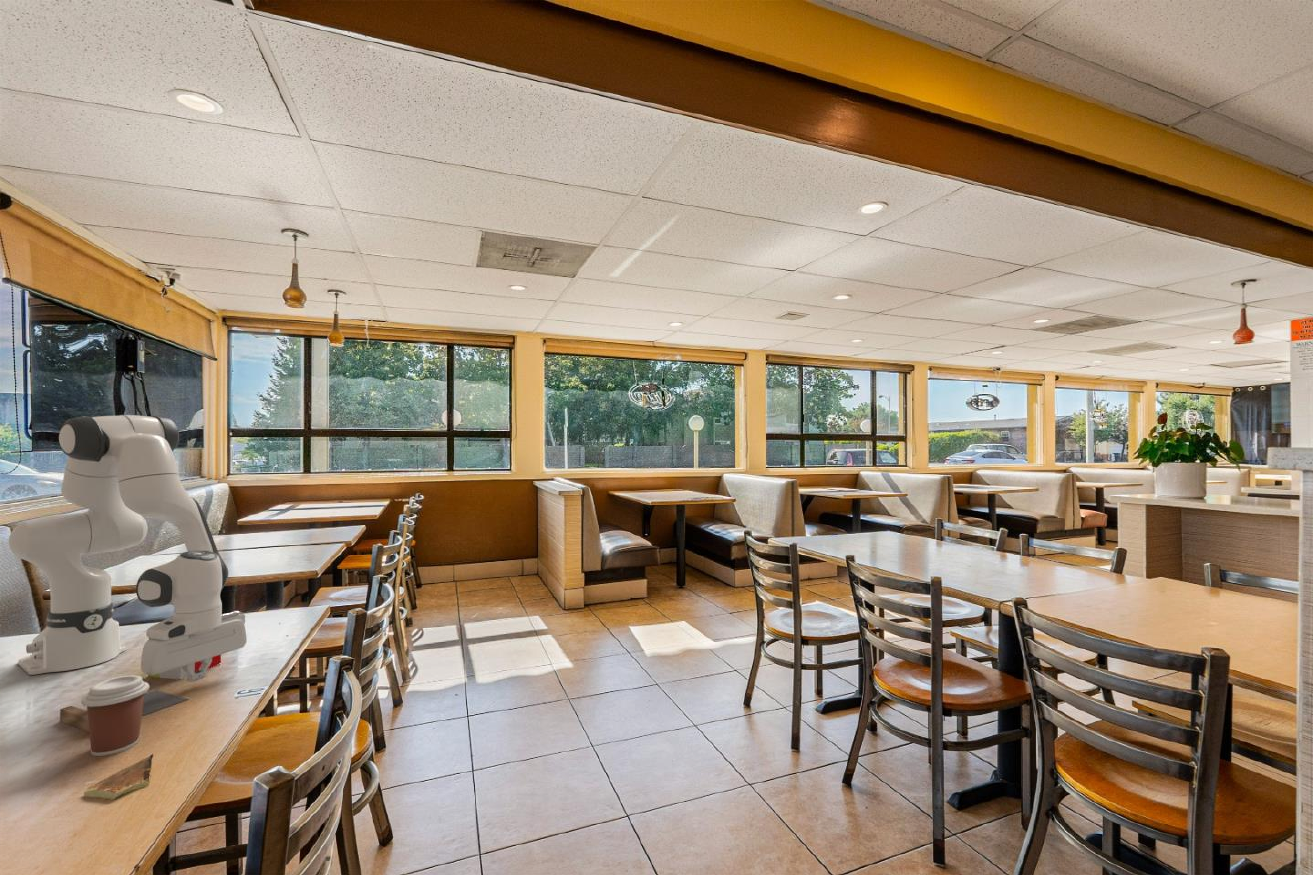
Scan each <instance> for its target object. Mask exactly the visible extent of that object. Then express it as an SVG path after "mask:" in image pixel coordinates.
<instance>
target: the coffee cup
mask: <svg viewBox="0 0 1313 875" xmlns="http://www.w3.org/2000/svg"><path fill="white" fill-rule="evenodd" d="M149 689H150V684H149V683H148V682H146V681H144V680H143V677H142V676H140V675H136V674H135V675H134V674H132V675H130V674H129V675H122V676H115V677H112V678H108V679H105V680H102V681H99V682H98V683H95V684H93V685H92V686H91V687H90V688H89V692H88V693H87V694H85V696H83V697H82V698H81V704H82V706H83V707H86V709H87V710H86V711H87V712H88V723H89V731H88V732H89V741H90V754H91V756H94V757H105V756H110V755H115V754H118V753H122V752H123V751H126V750H129V749H131V748H133V747H134V746H136V745H137V744H138V743H139V741H140V732H141V725H142V717H143V716H142V709H143V701H144V694H146V693H148V691H149Z"/></svg>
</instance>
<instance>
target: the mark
mask: <svg viewBox="0 0 1313 875" xmlns="http://www.w3.org/2000/svg"><path fill="white" fill-rule="evenodd" d="M187 700H189V698H187V697H183V696H179V695H176V694H172V693H168V692H164V691H161V690H158V689H157V690H156V689H155V690H151V691H150V692H146V693H144V701H143V709H142V717H143V716H146V715H150V714H153V713H154V712H157V711H160V710H164V709H166V708H168V707H171V706H174V705H177V704H179V703H182V702H185V701H187Z"/></svg>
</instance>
